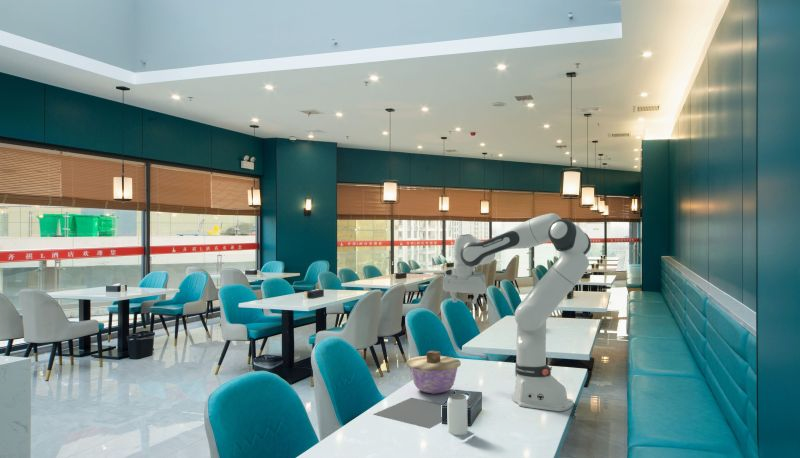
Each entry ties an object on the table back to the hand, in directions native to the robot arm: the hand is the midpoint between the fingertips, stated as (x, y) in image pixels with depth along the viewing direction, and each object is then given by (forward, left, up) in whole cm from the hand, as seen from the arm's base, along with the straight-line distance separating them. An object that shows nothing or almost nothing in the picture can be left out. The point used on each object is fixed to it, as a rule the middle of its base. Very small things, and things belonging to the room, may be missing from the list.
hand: (464, 302), depth 240 cm
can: (-29, +56, -34) cm, 72 cm away
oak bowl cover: (+2, +22, -23) cm, 32 cm away
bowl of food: (+2, +22, -34) cm, 41 cm away
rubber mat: (-8, +47, -34) cm, 59 cm away
